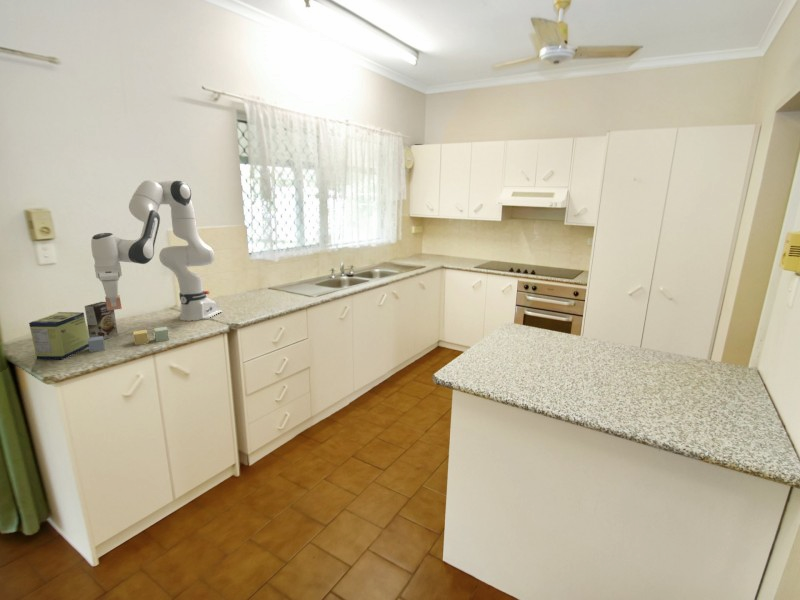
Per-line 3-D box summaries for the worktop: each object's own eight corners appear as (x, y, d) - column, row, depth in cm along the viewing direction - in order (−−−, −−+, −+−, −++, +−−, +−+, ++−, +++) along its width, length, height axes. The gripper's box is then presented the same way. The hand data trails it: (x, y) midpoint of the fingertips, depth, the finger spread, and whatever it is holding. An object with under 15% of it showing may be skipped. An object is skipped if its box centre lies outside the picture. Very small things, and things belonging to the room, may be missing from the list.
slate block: (104, 346, 175) (102, 335, 174) (104, 350, 171) (102, 339, 170) (90, 349, 172) (88, 338, 171) (90, 352, 168) (88, 341, 167)
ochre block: (147, 340, 184) (146, 329, 183) (148, 343, 180) (147, 332, 179) (134, 342, 181) (133, 331, 180) (135, 345, 177) (133, 334, 176)
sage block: (167, 336, 189) (166, 326, 187) (168, 339, 185) (167, 329, 184) (155, 338, 186) (153, 328, 185) (156, 341, 182) (155, 331, 181)
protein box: (90, 346, 175) (84, 311, 172) (62, 360, 160) (55, 322, 156) (66, 345, 175) (59, 311, 171) (35, 359, 160) (27, 322, 156)
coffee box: (101, 341, 181) (95, 306, 177) (89, 340, 182) (83, 305, 178) (118, 334, 190) (113, 301, 186) (107, 333, 191) (101, 300, 187)
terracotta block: (121, 306, 176) (119, 295, 174) (121, 308, 172) (119, 297, 170) (107, 307, 173) (105, 296, 172) (107, 310, 169) (105, 298, 168)
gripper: (99, 269, 175) (104, 299, 178) (99, 277, 159) (104, 311, 162) (117, 268, 178) (121, 298, 182) (118, 276, 162) (123, 308, 166)
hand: (113, 304), depth 172 cm, fingers closed on terracotta block, 5 cm apart
